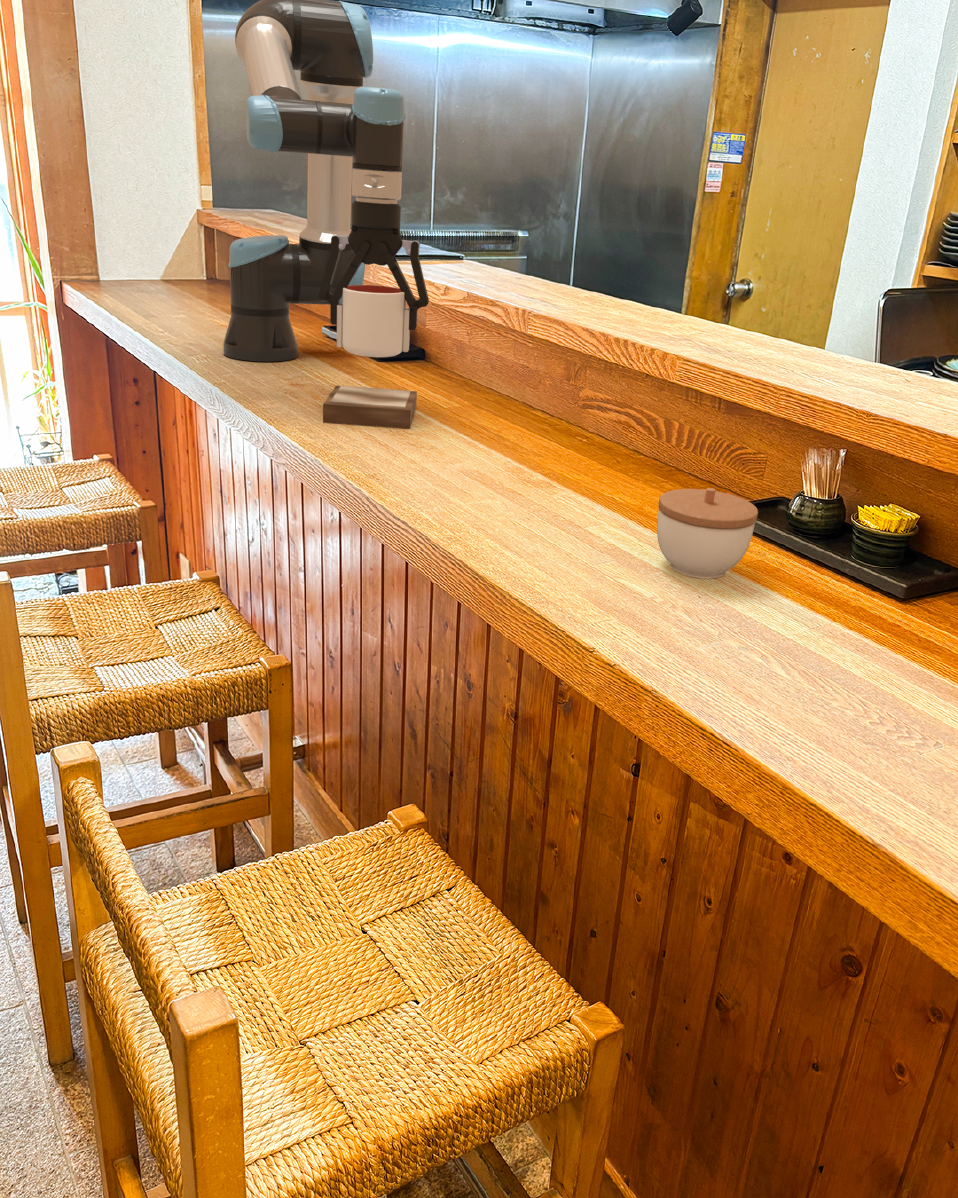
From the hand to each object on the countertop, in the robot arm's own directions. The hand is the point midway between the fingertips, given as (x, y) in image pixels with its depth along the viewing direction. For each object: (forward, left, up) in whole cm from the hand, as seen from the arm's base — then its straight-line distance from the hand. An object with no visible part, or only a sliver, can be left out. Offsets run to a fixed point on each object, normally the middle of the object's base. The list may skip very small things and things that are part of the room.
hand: (373, 347), depth 159 cm
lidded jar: (+59, +44, -11) cm, 74 cm away
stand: (0, 0, -11) cm, 11 cm away
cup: (0, 0, -1) cm, 1 cm away
